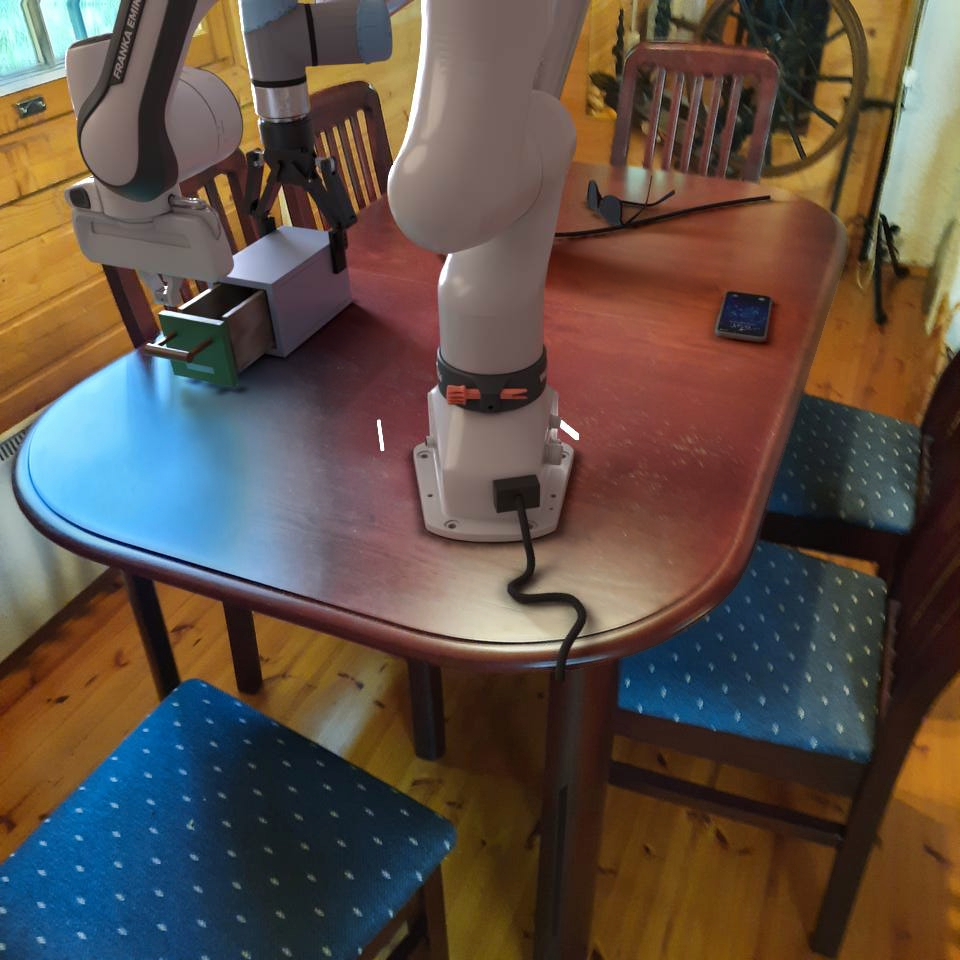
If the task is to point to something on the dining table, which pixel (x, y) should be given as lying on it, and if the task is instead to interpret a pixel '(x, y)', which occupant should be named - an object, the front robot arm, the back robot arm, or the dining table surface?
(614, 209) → the sunglasses
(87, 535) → the dining table surface
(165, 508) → the dining table surface
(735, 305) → the smartphone
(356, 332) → the dining table surface
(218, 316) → the drawer
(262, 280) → the cabinet
